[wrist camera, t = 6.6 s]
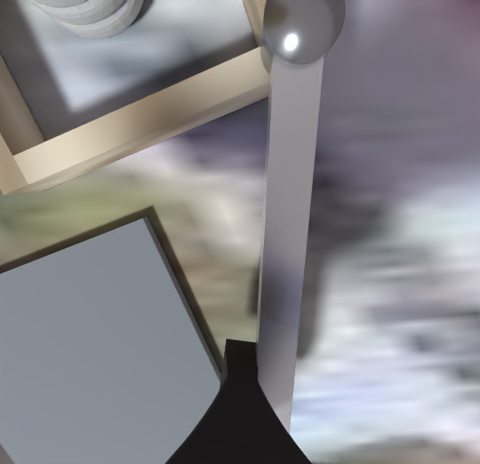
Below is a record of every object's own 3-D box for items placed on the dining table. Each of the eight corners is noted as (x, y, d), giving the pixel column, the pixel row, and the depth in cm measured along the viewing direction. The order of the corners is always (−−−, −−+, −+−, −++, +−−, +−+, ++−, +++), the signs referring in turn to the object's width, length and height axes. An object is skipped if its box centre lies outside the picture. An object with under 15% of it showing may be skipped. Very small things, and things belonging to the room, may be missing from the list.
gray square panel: (47, 488, 15) (40, 499, 15) (-83, 306, 13) (-96, 311, 12) (247, 431, 14) (247, 441, 13) (146, 216, 11) (142, 218, 11)
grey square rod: (286, 446, 11) (293, 499, 9) (242, 444, 11) (242, 496, 9) (326, 13, 8) (350, -33, 6) (261, 12, 8) (266, -35, 6)
